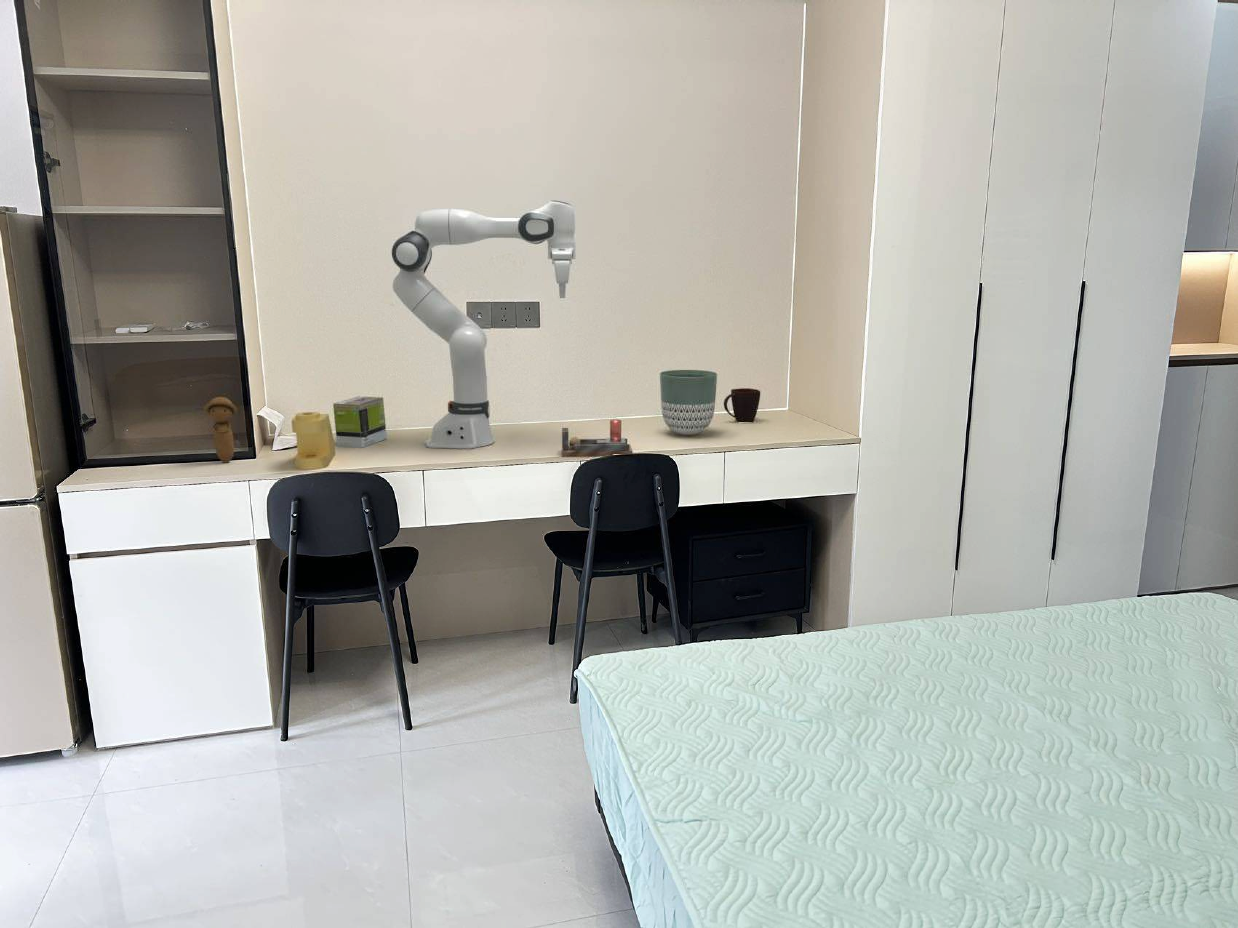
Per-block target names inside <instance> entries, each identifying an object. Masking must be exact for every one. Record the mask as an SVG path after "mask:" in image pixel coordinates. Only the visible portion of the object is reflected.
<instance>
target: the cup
mask: <svg viewBox="0 0 1238 928" xmlns="http://www.w3.org/2000/svg"><path fill="white" fill-rule="evenodd" d="M730 399H731V405H732V411H733V414H732V413H731V411H730V410H729V407H728V402H729V400H730ZM760 401H761V390H760V389H756V388H755V389H754V388H750V387H748V388H747V387H746V388H744V387H743V388H732V389H731V390H730V394H728V395H727V396H726V397H725V398H724V400H723V408H724V410H725V411H726V412H727V414H728V415H729V416H731V418H734V419H735V422H737V421H738V422H737V423H739V422H752V423H754V422H753V421H755V420H756V416H757V413H758V410H759V406H760V405H759V404H760Z"/></svg>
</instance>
